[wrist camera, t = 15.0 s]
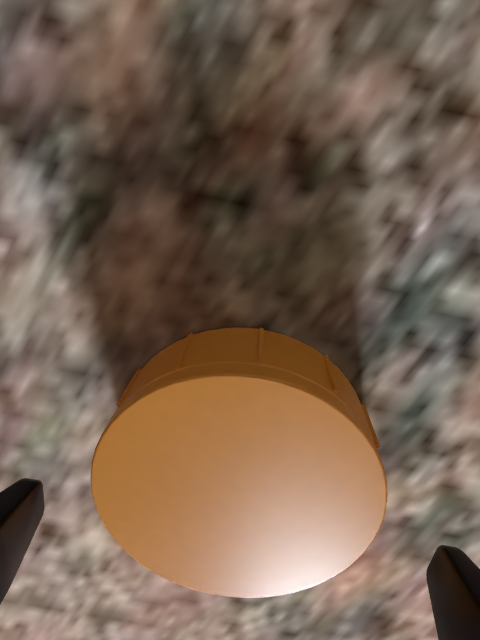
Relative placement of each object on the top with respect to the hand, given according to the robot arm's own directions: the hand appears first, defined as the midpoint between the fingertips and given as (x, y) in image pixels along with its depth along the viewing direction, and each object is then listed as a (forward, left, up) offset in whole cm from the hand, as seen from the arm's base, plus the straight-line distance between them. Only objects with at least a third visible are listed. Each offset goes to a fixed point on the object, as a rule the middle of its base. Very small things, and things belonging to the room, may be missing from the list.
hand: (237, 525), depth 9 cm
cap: (0, 0, -1) cm, 1 cm away
